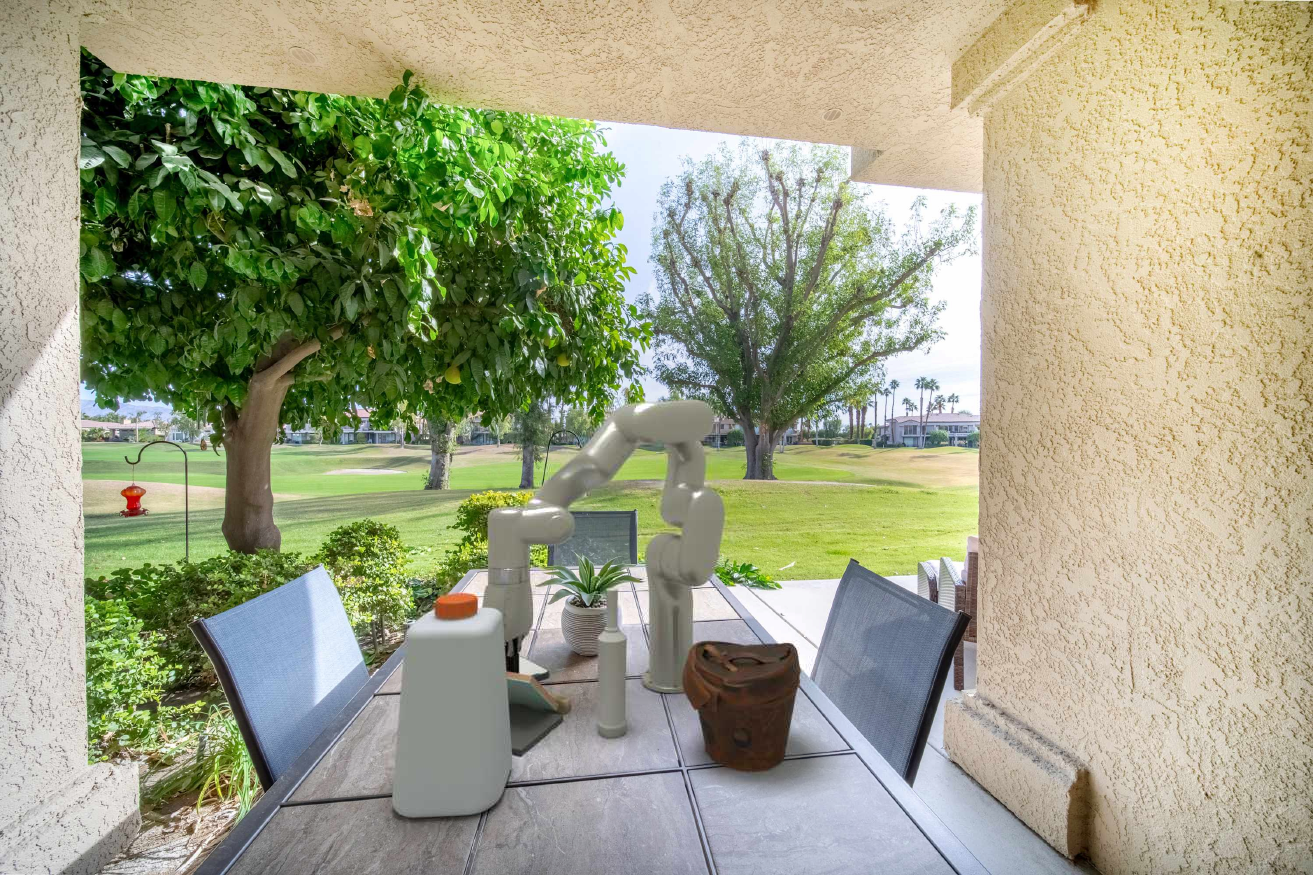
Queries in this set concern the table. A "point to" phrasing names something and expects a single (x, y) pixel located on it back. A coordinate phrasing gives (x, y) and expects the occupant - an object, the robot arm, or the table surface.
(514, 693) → the tile
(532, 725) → the rubber mat
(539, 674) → the phone case
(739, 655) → the case
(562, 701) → the tile stand
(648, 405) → the robot arm
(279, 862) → the table surface
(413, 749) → the plastic bottle
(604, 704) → the bottle
